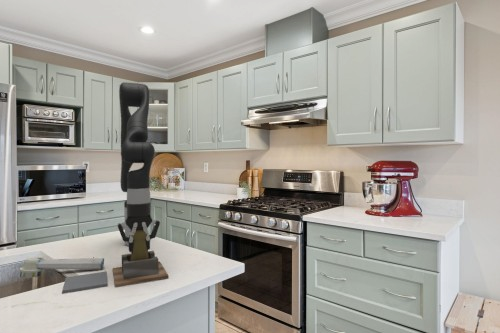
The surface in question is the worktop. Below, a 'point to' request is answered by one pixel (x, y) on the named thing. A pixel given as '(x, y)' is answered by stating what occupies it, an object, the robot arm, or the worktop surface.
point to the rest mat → (85, 282)
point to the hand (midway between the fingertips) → (139, 251)
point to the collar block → (139, 270)
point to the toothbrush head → (59, 265)
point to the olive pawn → (139, 246)
